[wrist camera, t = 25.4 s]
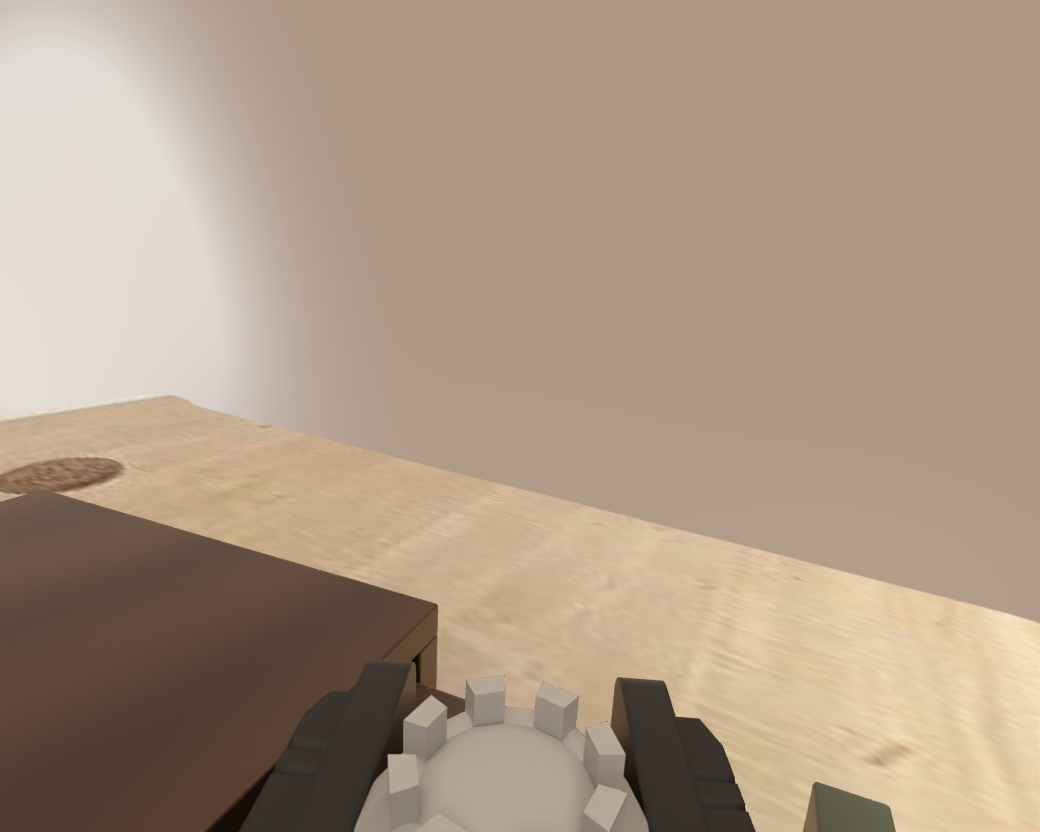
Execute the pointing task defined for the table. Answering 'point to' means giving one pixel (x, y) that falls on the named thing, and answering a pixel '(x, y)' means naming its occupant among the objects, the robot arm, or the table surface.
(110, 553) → the cabinet
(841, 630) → the table surface
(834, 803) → the drawer
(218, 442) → the table surface
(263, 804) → the robot arm
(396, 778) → the rook chess piece
